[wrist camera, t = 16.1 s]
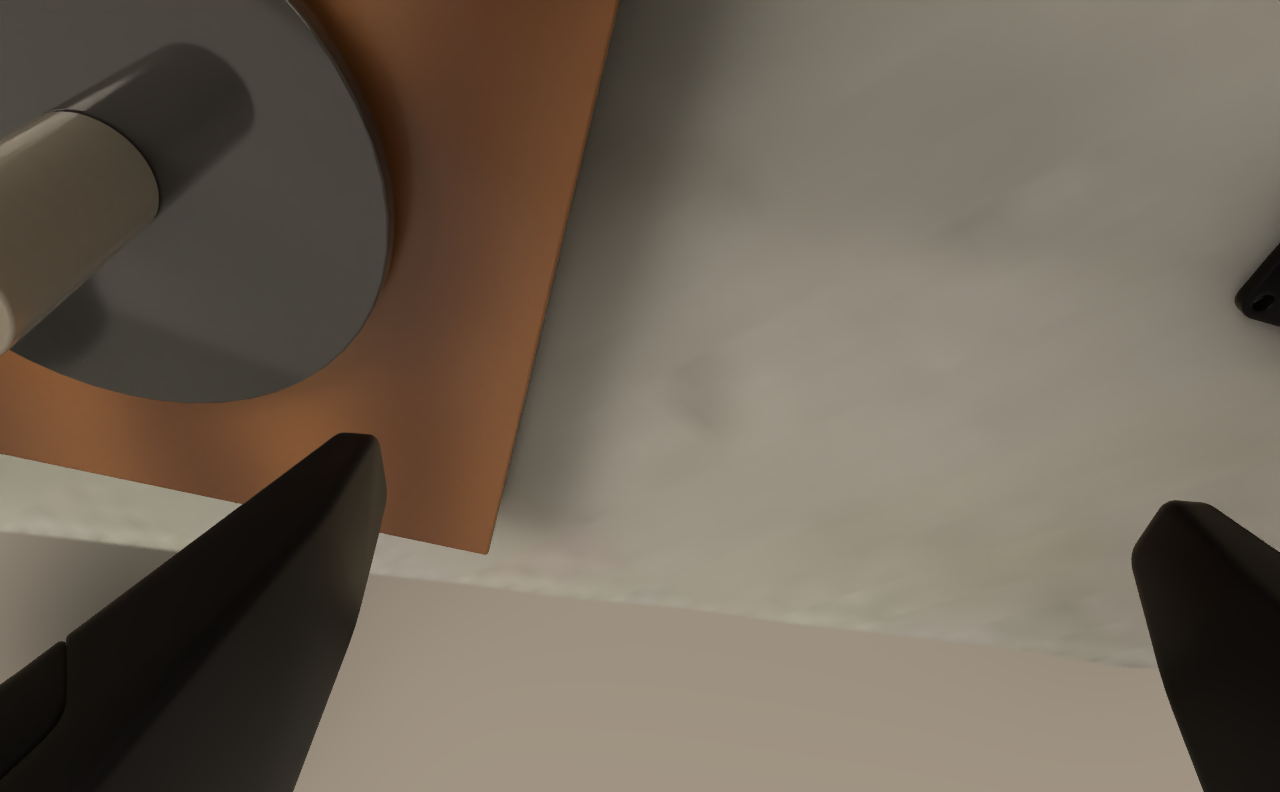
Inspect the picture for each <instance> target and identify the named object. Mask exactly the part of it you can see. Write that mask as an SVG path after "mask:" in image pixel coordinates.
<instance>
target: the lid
mask: <svg viewBox="0 0 1280 792" xmlns="http://www.w3.org/2000/svg"><path fill="white" fill-rule="evenodd" d="M393 243H394V203H393V195H392V187H391V179H390V172H389V168H388V165H387V161H386V157H385V153H384V149H383V146H382V142H381V138H380V135H379V132H378V130H377V127H376V125H375V122H374V120H373V117H372V114H371V112H370V109H369V107H368V104H367V102H366V99H365V97H364V95H363V93H362V91H361V89H360V87H359V85H358V83H357V82H356V80H355V78H354V76H353V74H352V72H351V70H350V68H349V67H348V65H347V63H346V61H345V59H344V57H343V55H342V54H341V52H340V51H339V50H338V48H337V47H336V45H335V44H334V42H333V41H332V39H331V38H330V36H329V35H328V33H327V32H326V30H325V29H324V27H323V26H322V24H321V23H320V21H319V20H318V18H317V17H316V16H315V14H314V13H313V12H312V11H311V10H310V8H309V7H308V6H307V5H306V4H305V2H304V1H303V0H0V356H2V355H3V354H4V353H6V352H7V351H8V350H10V351H12V352H14V353H16V354H18V355H19V356H21V357H23V358H25V359H27V360H29V361H32V362H34V363H36V364H38V365H41V366H43V367H45V368H47V369H50V370H52V371H54V372H56V373H59V374H61V375H64V376H67V377H69V378H72V379H75V380H78V381H81V382H83V383H86V384H89V385H92V386H95V387H99V388H102V389H106V390H110V391H114V392H117V393H121V394H125V395H129V396H135V397H141V398H146V399H152V400H158V401H167V402H179V403H224V402H232V401H239V400H246V399H252V398H256V397H260V396H263V395H267V394H271V393H275V392H278V391H280V390H283V389H285V388H287V387H290V386H292V385H295V384H297V383H299V382H302V381H304V380H305V379H307V378H309V377H310V376H312V375H313V374H315V373H317V372H318V371H320V370H322V369H323V368H325V367H326V366H327V365H328V364H330V363H331V362H332V361H333V360H334V359H335V358H337V357H338V356H339V355H340V354H341V353H342V352H343V351H345V350H346V348H347V347H348V346H349V345H350V343H351V342H352V341H353V340H354V338H355V337H356V336H357V335H358V334H359V332H360V331H361V330H362V328H363V326H364V325H365V323H366V321H367V319H368V317H369V316H370V314H371V312H372V310H373V308H374V307H375V305H376V303H377V301H378V299H379V297H380V294H381V292H382V289H383V286H384V283H385V280H386V277H387V274H388V271H389V266H390V260H391V254H392V249H393Z"/></svg>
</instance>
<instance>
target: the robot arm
mask: <svg viewBox="0 0 1280 792" xmlns="http://www.w3.org/2000/svg"><path fill="white" fill-rule="evenodd" d="M1264 295H1265V296H1264ZM1261 296H1264V298H1262V299H1261V300H1260V301H1258V302H1255V300H1257V299H1258V298H1259V297H1261ZM1254 302H1255V303H1254ZM1235 304H1236V306H1237V308H1238V309H1239V310H1240V311H1241V312H1242V313H1243V314H1244V315H1245V316H1247V317H1249V318H1251V319H1255V320H1258V321H1262V322H1265V323H1269V324H1272V325H1276V326H1280V243H1279V245H1278V246H1277V247H1276V248H1275V249H1274V250H1273V252H1272V253H1271V254H1270V255H1269V256H1268V257H1267V259H1266V260H1265V261H1264V262H1263V263H1262V264H1261V266H1260V267H1259V268H1258V269H1257V270H1256V271H1255V273H1254V274H1253V275H1252V276H1251V277H1250V278H1249V280H1248V281H1247V282H1246V283H1245V284H1244V286H1243V287H1242V288H1241V289H1240V290H1239V292H1238V293H1237V295H1236V297H1235ZM386 500H387V484H386V478H385V472H384V466H383V460H382V454H381V448H380V444H379V441H378V439H377V438H376V437H375V436H373V435H371V434H360V433H348V432H343V433H339V434H337V435H335V436H333V437H332V438H331V439H329V440H328V441H327V442H325V443H324V444H323V445H321V446H320V447H319V448H317V449H316V450H315V451H313V452H312V453H311V454H309V455H308V456H307V457H305V458H304V459H303V460H301V461H300V462H299V463H297V464H296V465H295V466H293V467H292V468H291V469H289V470H288V471H287V472H285V473H284V474H283V475H281V476H280V477H279V478H277V479H276V480H275V481H273V482H272V483H271V484H269V485H268V486H267V487H265V488H264V489H262V490H261V491H260V492H258V493H257V494H256V495H254V496H253V497H252V498H250V499H249V500H248V501H246V502H245V503H244V504H242V505H241V506H240V507H238V508H237V509H236V510H234V511H233V512H232V513H230V514H229V515H228V516H226V517H225V518H224V519H222V520H221V521H220V522H218V523H217V524H216V525H214V526H213V527H212V528H210V529H209V530H208V531H206V532H205V533H204V534H202V535H201V536H200V537H198V538H197V539H196V540H194V541H193V542H192V543H190V544H189V545H188V546H186V547H185V548H184V549H182V550H181V551H180V552H178V553H177V554H176V555H174V556H173V557H172V558H170V559H169V560H168V561H166V562H165V563H164V564H163V565H161V566H160V567H158V568H157V569H156V570H154V571H153V572H152V573H150V574H149V575H148V576H146V577H145V578H144V579H142V580H141V581H140V582H138V583H137V584H136V585H134V586H133V587H131V588H130V589H129V590H127V591H126V592H125V593H124V594H122V595H121V596H120V597H118V598H117V599H115V600H114V601H113V602H111V603H110V604H109V605H107V606H106V607H105V608H103V609H102V610H101V611H100V612H98V613H97V614H95V615H94V616H93V617H92V618H90V619H89V620H87V621H86V622H85V623H83V624H82V625H81V626H79V627H78V628H77V629H75V630H74V631H73V632H71V633H70V634H69V635H68V636H67V638H66V642H62V641H61V642H58V643H56V644H55V645H54V646H52V647H51V648H50V649H48V650H47V651H45V652H44V653H43V654H41V655H40V656H39V657H37V658H36V659H35V660H33V661H32V662H31V663H29V664H28V665H27V666H26V667H24V668H23V669H22V670H20V671H19V672H17V673H16V674H15V675H13V676H12V677H10V678H9V679H7V680H6V681H5V682H3V683H2V684H0V792H293V790H294V788H295V785H296V782H297V780H298V777H299V775H300V772H301V769H302V766H303V764H304V761H305V758H306V756H307V754H308V751H309V748H310V745H311V743H312V740H313V738H314V735H315V732H316V730H317V727H318V725H319V722H320V719H321V717H322V714H323V711H324V709H325V706H326V704H327V701H328V698H329V695H330V693H331V690H332V687H333V685H334V683H335V680H336V677H337V674H338V672H339V669H340V667H341V664H342V661H343V659H344V656H345V654H346V651H347V648H348V646H349V643H350V640H351V637H352V634H353V631H354V628H355V626H356V622H357V618H358V614H359V611H360V607H361V603H362V599H363V595H364V591H365V587H366V583H367V579H368V575H369V571H370V567H371V563H372V559H373V555H374V551H375V547H376V543H377V539H378V535H379V531H380V527H381V523H382V519H383V515H384V511H385V507H386ZM1131 560H1132V570H1133V573H1134V577H1135V581H1136V585H1137V589H1138V592H1139V596H1140V600H1141V604H1142V607H1143V611H1144V615H1145V619H1146V623H1147V626H1148V630H1149V634H1150V638H1151V641H1152V645H1153V649H1154V653H1155V656H1156V660H1157V664H1158V668H1159V671H1160V674H1161V678H1162V681H1163V684H1164V688H1165V691H1166V694H1167V697H1168V699H1169V702H1170V705H1171V708H1172V711H1173V713H1174V715H1175V718H1176V721H1177V723H1178V726H1179V728H1180V731H1181V734H1182V737H1183V739H1184V742H1185V744H1186V747H1187V750H1188V752H1189V755H1190V757H1191V760H1192V762H1193V765H1194V768H1195V770H1196V773H1197V776H1198V778H1199V781H1200V783H1201V786H1202V789H1203V791H1204V792H1280V552H1278V551H1277V550H1275V549H1274V548H1272V547H1271V546H1270V545H1268V544H1267V543H1265V542H1264V541H1262V540H1261V539H1259V538H1258V537H1257V536H1255V535H1254V534H1252V533H1251V532H1249V531H1248V530H1246V529H1245V528H1243V527H1242V526H1241V525H1239V524H1238V523H1236V522H1235V521H1233V520H1232V519H1230V518H1229V517H1228V516H1226V515H1225V514H1223V513H1222V512H1220V511H1219V510H1217V509H1216V508H1214V507H1213V506H1211V505H1209V504H1206V503H1202V502H1190V501H1178V500H1173V501H1169V502H1167V503H1165V504H1164V505H1162V506H1161V508H1160V509H1159V510H1158V512H1157V513H1156V515H1155V516H1154V518H1153V519H1152V520H1151V522H1150V523H1149V525H1148V526H1147V528H1146V529H1145V531H1144V532H1143V534H1142V535H1141V537H1140V538H1139V540H1138V541H1137V543H1136V544H1135V546H1134V549H1133V552H1132V559H1131Z"/></svg>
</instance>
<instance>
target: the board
mask: <svg viewBox="0 0 1280 792" xmlns="http://www.w3.org/2000/svg"><path fill="white" fill-rule="evenodd" d="M303 1H304V2H305V4H306V5H307V6H308V7H309V8H310V10H311V11H312V12H313V13H314V14H315V16H316V17H317V18H318V20H319V21H320V23H321V24H322V26H323V27H324V29H325V30H326V32H327V33H328V35H329V36H330V38H331V39H332V41H333V42H334V44H335V45H336V47H337V48H338V50H339V51H340V52H341V54H342V55H343V57H344V59H345V61H346V63H347V65H348V67H349V68H350V70H351V72H352V74H353V76H354V78H355V80H356V82H357V83H358V85H359V87H360V89H361V91H362V93H363V95H364V97H365V99H366V102H367V104H368V107H369V109H370V112H371V114H372V117H373V120H374V122H375V125H376V127H377V130H378V132H379V135H380V138H381V142H382V146H383V149H384V153H385V157H386V161H387V165H388V168H389V172H390V179H391V187H392V195H393V203H394V243H393V249H392V254H391V260H390V266H389V271H388V274H387V277H386V280H385V283H384V286H383V289H382V292H381V294H380V297H379V299H378V301H377V303H376V305H375V307H374V308H373V310H372V312H371V314H370V316H369V317H368V319H367V321H366V323H365V325H364V326H363V328H362V330H361V331H360V332H359V334H358V335H357V336H356V337H355V338H354V340H353V341H352V342H351V343H350V345H349V346H348V347H347V348H346V350H345V351H343V352H342V353H341V354H340V355H339V356H338V357H337V358H335V359H334V360H333V361H332V362H331V363H330V364H328V365H327V366H326V367H325V368H323V369H322V370H320V371H318V372H317V373H315V374H313V375H312V376H310V377H309V378H307V379H305V380H304V381H302V382H299V383H297V384H295V385H292V386H290V387H287V388H285V389H283V390H280V391H278V392H275V393H271V394H267V395H263V396H260V397H256V398H252V399H246V400H239V401H232V402H224V403H179V402H167V401H158V400H152V399H146V398H141V397H135V396H129V395H125V394H121V393H117V392H114V391H110V390H106V389H102V388H99V387H95V386H92V385H89V384H86V383H83V382H81V381H78V380H75V379H72V378H69V377H67V376H64V375H61V374H59V373H56V372H54V371H52V370H50V369H47V368H45V367H43V366H41V365H38V364H36V363H34V362H32V361H29V360H27V359H25V358H23V357H21V356H19V355H18V354H16V353H14V352H12V351H10V350H8V351H7V352H6V353H4V354H3V355H2V356H0V454H5V455H10V456H15V457H19V458H24V459H29V460H34V461H39V462H43V463H48V464H53V465H58V466H63V467H67V468H72V469H77V470H82V471H86V472H91V473H96V474H101V475H106V476H110V477H115V478H120V479H125V480H130V481H134V482H139V483H144V484H149V485H154V486H158V487H163V488H168V489H173V490H178V491H182V492H187V493H192V494H197V495H202V496H206V497H211V498H216V499H221V500H226V501H230V502H235V503H240V504H244V503H245V502H246V501H248V500H249V499H250V498H252V497H253V496H254V495H256V494H257V493H258V492H260V491H261V490H262V489H264V488H265V487H267V486H268V485H269V484H271V483H272V482H273V481H275V480H276V479H277V478H279V477H280V476H281V475H283V474H284V473H285V472H287V471H288V470H289V469H291V468H292V467H293V466H295V465H296V464H297V463H299V462H300V461H301V460H303V459H304V458H305V457H307V456H308V455H309V454H311V453H312V452H313V451H315V450H316V449H317V448H319V447H320V446H321V445H323V444H324V443H325V442H327V441H328V440H329V439H331V438H332V437H333V436H335V435H337V434H339V433H343V432H348V433H360V434H371V435H373V436H375V437H376V438H377V439H378V441H379V444H380V448H381V454H382V460H383V466H384V472H385V478H386V484H387V500H386V507H385V511H384V515H383V519H382V523H381V527H380V531H379V533H384V534H389V535H394V536H398V537H403V538H408V539H413V540H418V541H422V542H427V543H432V544H437V545H442V546H446V547H451V548H456V549H461V550H466V551H470V552H475V553H480V554H485V555H486V554H488V552H489V548H490V544H491V540H492V536H493V532H494V528H495V523H496V519H497V515H498V511H499V507H500V503H501V499H502V495H503V490H504V486H505V482H506V478H507V474H508V469H509V465H510V461H511V457H512V453H513V448H514V444H515V440H516V436H517V432H518V427H519V423H520V419H521V415H522V411H523V406H524V402H525V398H526V394H527V390H528V385H529V381H530V377H531V373H532V369H533V364H534V360H535V356H536V352H537V348H538V343H539V339H540V335H541V331H542V327H543V322H544V318H545V314H546V310H547V306H548V302H549V297H550V293H551V289H552V285H553V281H554V276H555V272H556V268H557V264H558V260H559V255H560V251H561V247H562V243H563V239H564V234H565V230H566V226H567V222H568V218H569V213H570V209H571V205H572V201H573V197H574V192H575V188H576V184H577V180H578V176H579V171H580V167H581V163H582V159H583V155H584V150H585V146H586V142H587V138H588V134H589V129H590V125H591V121H592V117H593V113H594V108H595V104H596V100H597V96H598V92H599V87H600V83H601V79H602V75H603V71H604V67H605V62H606V58H607V54H608V50H609V46H610V41H611V37H612V33H613V29H614V25H615V20H616V16H617V12H618V8H619V4H620V0H303Z"/></svg>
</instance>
